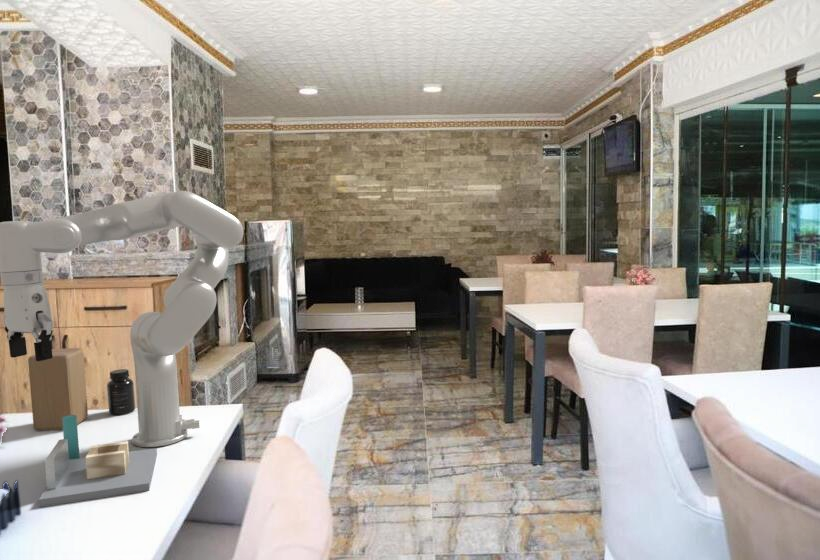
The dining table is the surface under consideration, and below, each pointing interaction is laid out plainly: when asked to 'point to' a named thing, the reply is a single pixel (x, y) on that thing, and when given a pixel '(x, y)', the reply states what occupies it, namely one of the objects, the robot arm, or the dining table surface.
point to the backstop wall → (57, 464)
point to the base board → (102, 480)
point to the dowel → (71, 435)
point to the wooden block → (58, 388)
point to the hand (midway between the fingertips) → (31, 357)
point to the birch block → (107, 460)
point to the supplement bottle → (120, 393)
